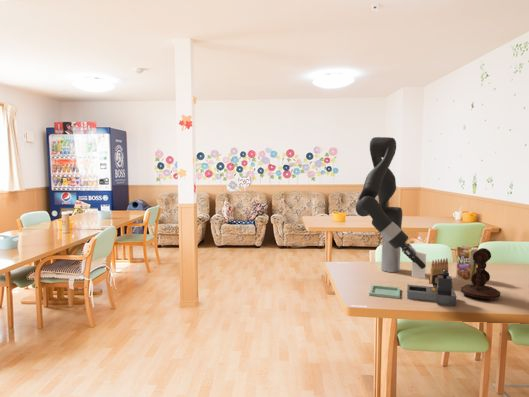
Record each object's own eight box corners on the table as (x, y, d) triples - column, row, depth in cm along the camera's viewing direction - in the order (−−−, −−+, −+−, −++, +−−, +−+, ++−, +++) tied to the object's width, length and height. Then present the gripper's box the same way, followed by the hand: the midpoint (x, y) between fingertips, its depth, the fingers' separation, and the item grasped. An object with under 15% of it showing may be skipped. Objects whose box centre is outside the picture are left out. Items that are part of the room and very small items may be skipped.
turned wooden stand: (465, 288, 179) (467, 244, 177) (503, 295, 170) (505, 249, 168) (456, 296, 168) (458, 250, 166) (496, 304, 158) (499, 255, 157)
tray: (371, 289, 177) (371, 284, 177) (399, 292, 174) (399, 287, 173) (369, 297, 166) (369, 293, 166) (399, 301, 162) (399, 296, 162)
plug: (411, 274, 167) (412, 251, 167) (424, 275, 166) (425, 252, 165) (411, 277, 164) (412, 253, 163) (425, 278, 162) (426, 254, 161)
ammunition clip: (432, 286, 182) (433, 260, 181) (428, 285, 184) (429, 259, 182) (448, 283, 186) (450, 258, 185) (445, 282, 188) (446, 257, 187)
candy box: (455, 276, 197) (456, 246, 196) (462, 276, 199) (463, 245, 197) (469, 281, 189) (470, 250, 188) (476, 281, 190) (478, 249, 189)
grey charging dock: (407, 293, 172) (408, 263, 170) (453, 298, 166) (454, 267, 165) (407, 301, 162) (408, 269, 161) (456, 306, 156) (457, 273, 155)
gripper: (400, 231, 159) (432, 264, 156) (400, 226, 172) (430, 256, 169) (386, 244, 161) (417, 276, 158) (387, 238, 174) (416, 267, 171)
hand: (423, 266), depth 164 cm, fingers closed on plug, 4 cm apart
